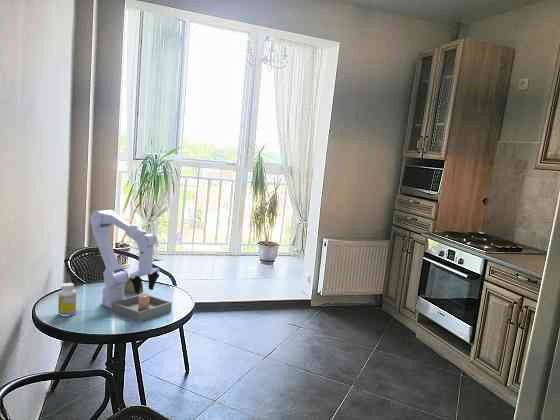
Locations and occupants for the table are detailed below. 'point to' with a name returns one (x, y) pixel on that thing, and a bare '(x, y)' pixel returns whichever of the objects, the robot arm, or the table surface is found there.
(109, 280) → the robot arm
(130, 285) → the rock
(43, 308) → the table surface
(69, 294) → the supplement bottle
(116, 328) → the table surface
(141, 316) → the bin
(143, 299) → the orange-brown upright cylinder
